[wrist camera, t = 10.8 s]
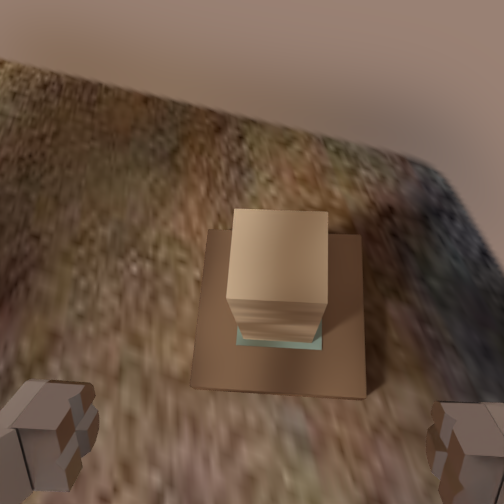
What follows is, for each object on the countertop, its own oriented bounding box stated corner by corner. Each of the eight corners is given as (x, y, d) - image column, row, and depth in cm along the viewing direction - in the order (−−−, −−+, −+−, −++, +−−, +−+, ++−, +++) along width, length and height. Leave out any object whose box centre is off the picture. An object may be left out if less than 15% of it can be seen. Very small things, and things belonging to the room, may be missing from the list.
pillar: (243, 339, 25) (226, 298, 17) (248, 275, 27) (234, 208, 19) (311, 342, 25) (327, 303, 17) (312, 277, 27) (328, 211, 18)
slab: (197, 390, 27) (189, 386, 25) (213, 244, 31) (207, 228, 28) (359, 401, 26) (366, 397, 24) (355, 249, 30) (361, 234, 28)
